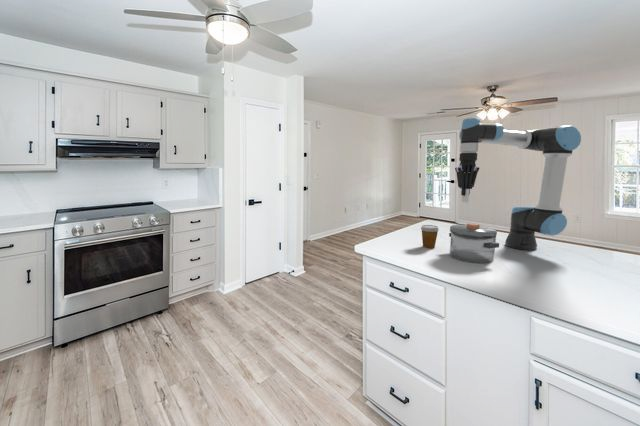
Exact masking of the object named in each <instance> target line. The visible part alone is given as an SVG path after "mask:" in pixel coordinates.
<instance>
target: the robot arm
mask: <svg viewBox="0 0 640 426" xmlns="http://www.w3.org/2000/svg"><path fill="white" fill-rule="evenodd" d="M461 122H462V123H461V127H460V128H461V129H460V131H459V136H458V137H459V140H460V149H459V152H461V153H459V158H458V160H459V161H460V162H459V166H457V167H455V168H454V170H455V172H456V173H455V174H456V178H457V179H456V180H457V187H458V188H459V189H461V193H460V194H461V195H460V196H461V203H466V204H468V203H469V199H470V197H469V196H470V193H471V192H470V191H471V190H472V189H473V188H474V187H475V183H476V180H477V175H478V172H479V171H480V167H478V166H477V165H476V162H477V160H478V153H477V152H479V143H480V144H481V143H482V144H492V145H503V146H513V147H517V148H518V149H523V150H530V151H536V152H542V155H543V156H544V157H545V159H544V160H545V161H544V168H543V173H542V180H541V186H540V192H539V193H540V194H539V200H538V204H537V205H536V206H514V207H513V208H512V210H511V216H510V217H511V218H510V227H509V228H510V229H509V232H508V235H507V237H506V239H505V242H504V245H505V246H506V247H508V248H511V249H516V250H524V251H533V250H537V249H538V243H537V239H536V238H537V237H536V235H535V234H536V233H539V234H542V235H543V236H544V235H545V236H557V235H559V234H561V233H562V232H564V230H565V229H566V227H567V224H568V219H567V217H566V215H565V214H563V211H564V210H563V208H562V207H561V206H560V203H561V199H562V193H563V187H564V186H563V185H564V180H565V175H566V168H567V161H568V158H569V157H570V156H572V155H573V151H575V150H576V149H577V148H578V147H579V146H580V145H581V142H582V136H581V133H580V131H579V130H578V128H577V127H575V126H573V125H559V126H554V127H545V128H538V129H532V130H529V129H524V130H521V131H519V130H507V129H505V128H504V125H502V124H500V123H495V122H494V123H483V122H481V119H480V118H478V117H468V118H464V119H463V120H462V121H461Z"/></svg>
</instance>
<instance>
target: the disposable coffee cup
mask: <svg viewBox="0 0 640 426" xmlns="http://www.w3.org/2000/svg"><path fill="white" fill-rule="evenodd" d="M420 229H421V237H422V238H421V239H422V240H421V241H422V247H423V249H424V248H425V249H431V250H432V249H435V247H436V243H437V237H438V232H439V230H440V228H439V226H437V225H434V224H433V225H432V224H423V225H421V227H420Z"/></svg>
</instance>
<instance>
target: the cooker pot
mask: <svg viewBox="0 0 640 426" xmlns="http://www.w3.org/2000/svg"><path fill="white" fill-rule="evenodd" d="M448 237H449V238H450V241H449V242H450V244H449V256H450V257H451V258H452V259H455V260H456V261H461V262H466V263H470V264H471V263H472V264H490V263H492V262H494V260H495V252H496V251H495V250H496V248H500V242H497V241H496V240H497V236H496V237H491V238H478V237H468V236H462V235H458V234H454V233H452V232H449V233H448Z"/></svg>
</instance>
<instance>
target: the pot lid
mask: <svg viewBox="0 0 640 426" xmlns="http://www.w3.org/2000/svg"><path fill="white" fill-rule="evenodd" d="M451 232H452V233H454V234H458V235H462V236H468V237H478V238H491V237H496V238H497V233H498V231H497V230H496V229H494V228H491V227H486V226H481V225H480V224H477V223H474V222H473V223H471V222H470V223H466V224H455V225H450V227H449V233H451Z"/></svg>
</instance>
